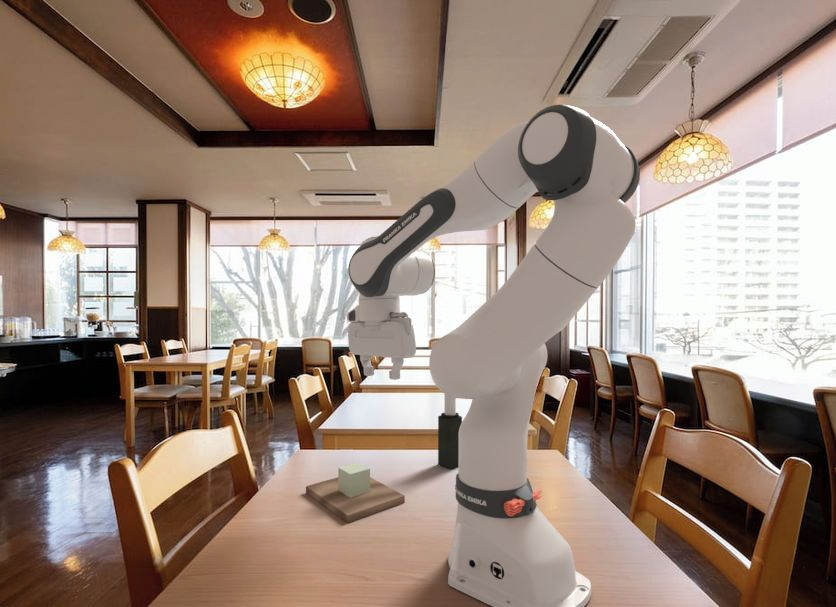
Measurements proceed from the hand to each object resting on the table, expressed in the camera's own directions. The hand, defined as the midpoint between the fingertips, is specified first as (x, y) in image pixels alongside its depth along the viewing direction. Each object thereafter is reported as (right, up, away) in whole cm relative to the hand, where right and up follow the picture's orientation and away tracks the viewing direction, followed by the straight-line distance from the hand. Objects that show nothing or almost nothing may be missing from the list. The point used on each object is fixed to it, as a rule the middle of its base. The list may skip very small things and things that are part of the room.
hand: (381, 377), depth 98 cm
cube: (-6, -25, +2) cm, 26 cm away
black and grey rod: (+16, -27, +22) cm, 38 cm away
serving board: (-6, -27, +2) cm, 27 cm away
